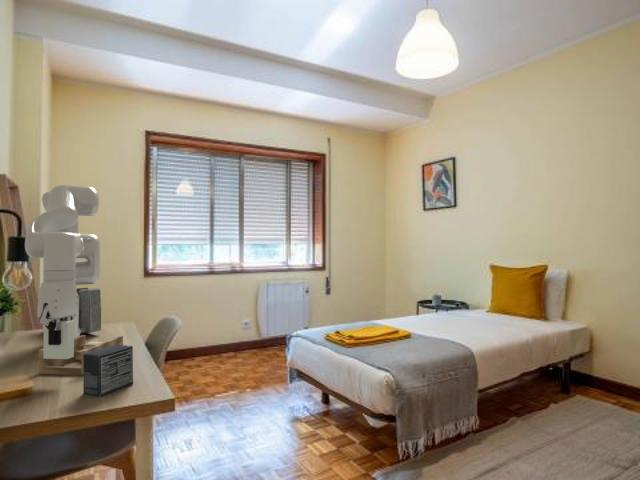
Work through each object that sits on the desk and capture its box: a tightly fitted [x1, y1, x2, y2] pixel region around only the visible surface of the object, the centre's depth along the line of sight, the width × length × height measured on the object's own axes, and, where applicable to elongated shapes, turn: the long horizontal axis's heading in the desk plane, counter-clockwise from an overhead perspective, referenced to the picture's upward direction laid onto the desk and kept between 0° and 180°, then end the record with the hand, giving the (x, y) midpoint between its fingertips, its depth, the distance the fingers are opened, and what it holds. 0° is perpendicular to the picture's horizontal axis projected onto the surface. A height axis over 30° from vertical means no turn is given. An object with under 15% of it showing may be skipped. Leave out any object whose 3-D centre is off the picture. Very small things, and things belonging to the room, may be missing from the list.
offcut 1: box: [75, 349, 84, 361], centre depth 135 cm, size 4×5×3 cm
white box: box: [42, 320, 74, 359], centre depth 112 cm, size 2×7×10 cm, turn 85°
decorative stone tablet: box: [76, 287, 102, 335], centre depth 176 cm, size 19×6×30 cm
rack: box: [38, 334, 124, 376], centre depth 128 cm, size 20×14×7 cm
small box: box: [82, 344, 134, 398], centre depth 107 cm, size 11×6×10 cm, turn 157°
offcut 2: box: [84, 341, 104, 350], centre depth 134 cm, size 4×7×2 cm, turn 84°
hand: (58, 342), depth 112 cm, fingers closed on white box, 2 cm apart
